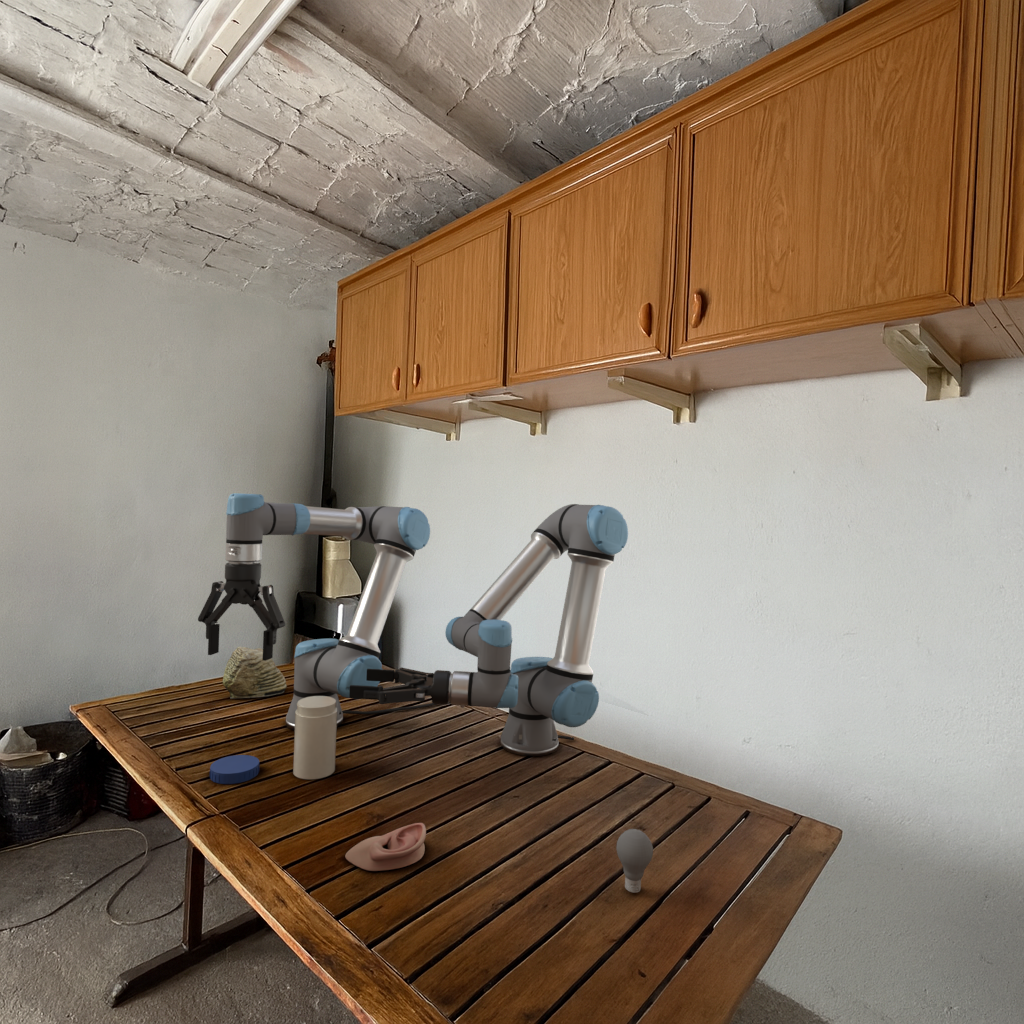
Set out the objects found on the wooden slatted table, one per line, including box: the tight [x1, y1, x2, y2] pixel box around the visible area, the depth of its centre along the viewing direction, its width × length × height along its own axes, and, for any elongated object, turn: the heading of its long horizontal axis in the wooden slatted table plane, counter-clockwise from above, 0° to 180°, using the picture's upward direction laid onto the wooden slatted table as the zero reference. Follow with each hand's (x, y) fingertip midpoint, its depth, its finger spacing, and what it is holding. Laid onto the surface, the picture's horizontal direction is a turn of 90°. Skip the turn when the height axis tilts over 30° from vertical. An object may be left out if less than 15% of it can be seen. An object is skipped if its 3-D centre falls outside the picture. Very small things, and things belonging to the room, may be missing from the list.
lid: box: [209, 754, 260, 785], centre depth 143 cm, size 10×10×2 cm
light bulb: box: [615, 828, 654, 894], centre depth 106 cm, size 6×6×10 cm
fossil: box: [222, 646, 288, 699], centre depth 198 cm, size 9×18×15 cm, turn 132°
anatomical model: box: [344, 822, 427, 872], centre depth 113 cm, size 13×4×12 cm
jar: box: [292, 696, 338, 780], centre depth 146 cm, size 9×9×16 cm
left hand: (240, 656), depth 142 cm, fingers open, 13 cm apart
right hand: (358, 682), depth 145 cm, fingers open, 13 cm apart
